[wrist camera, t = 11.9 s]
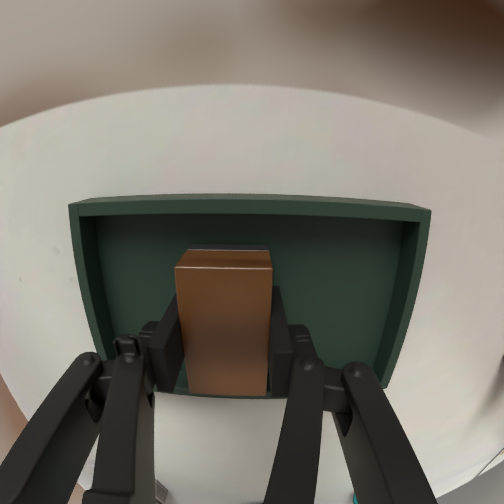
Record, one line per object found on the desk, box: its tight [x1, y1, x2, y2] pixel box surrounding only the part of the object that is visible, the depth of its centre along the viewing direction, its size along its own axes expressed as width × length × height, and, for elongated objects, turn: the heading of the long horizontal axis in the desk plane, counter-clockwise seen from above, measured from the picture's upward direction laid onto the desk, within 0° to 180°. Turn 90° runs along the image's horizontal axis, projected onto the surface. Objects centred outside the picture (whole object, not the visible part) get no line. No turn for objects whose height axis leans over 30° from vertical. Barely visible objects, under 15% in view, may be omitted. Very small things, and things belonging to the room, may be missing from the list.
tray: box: [68, 194, 431, 399], centre depth 17 cm, size 22×14×3 cm, turn 89°
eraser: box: [174, 244, 273, 396], centre depth 16 cm, size 8×4×4 cm, turn 179°
